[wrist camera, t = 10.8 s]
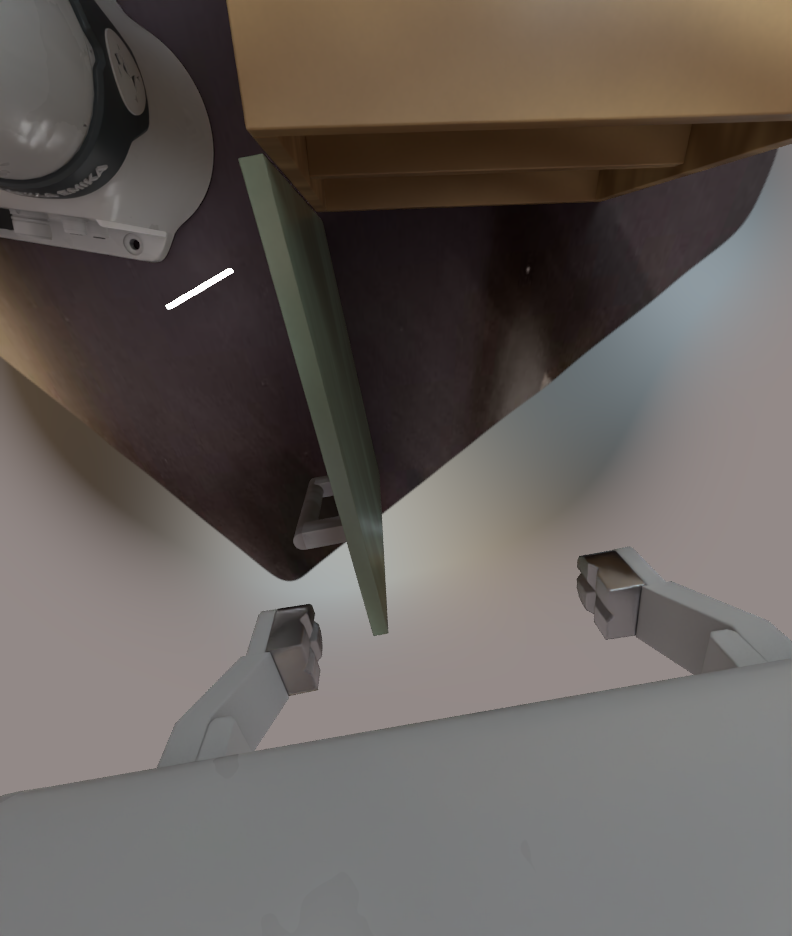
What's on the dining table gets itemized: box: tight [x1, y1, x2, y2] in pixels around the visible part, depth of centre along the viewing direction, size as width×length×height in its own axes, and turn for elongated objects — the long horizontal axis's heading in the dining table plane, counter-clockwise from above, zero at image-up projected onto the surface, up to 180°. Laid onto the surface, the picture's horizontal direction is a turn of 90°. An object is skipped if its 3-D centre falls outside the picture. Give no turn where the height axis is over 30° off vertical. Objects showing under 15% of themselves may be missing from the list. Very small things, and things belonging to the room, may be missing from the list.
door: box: [239, 153, 388, 636], centre depth 33 cm, size 7×26×24 cm, turn 10°
